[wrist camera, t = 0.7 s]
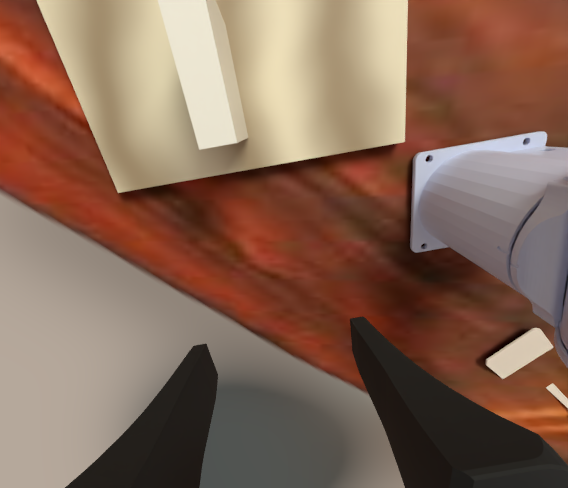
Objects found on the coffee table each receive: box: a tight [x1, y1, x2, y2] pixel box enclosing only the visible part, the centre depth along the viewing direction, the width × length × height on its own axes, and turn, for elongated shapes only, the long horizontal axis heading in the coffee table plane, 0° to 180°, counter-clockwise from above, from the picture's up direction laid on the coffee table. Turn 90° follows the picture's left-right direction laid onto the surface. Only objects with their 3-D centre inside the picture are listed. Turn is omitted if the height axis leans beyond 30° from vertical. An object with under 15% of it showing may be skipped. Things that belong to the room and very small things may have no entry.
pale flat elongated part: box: [485, 328, 568, 408], centre depth 32 cm, size 6×29×2 cm, turn 48°
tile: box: [158, 0, 248, 150], centre depth 13 cm, size 2×6×7 cm, turn 9°
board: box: [37, 0, 408, 193], centre depth 16 cm, size 20×14×1 cm
